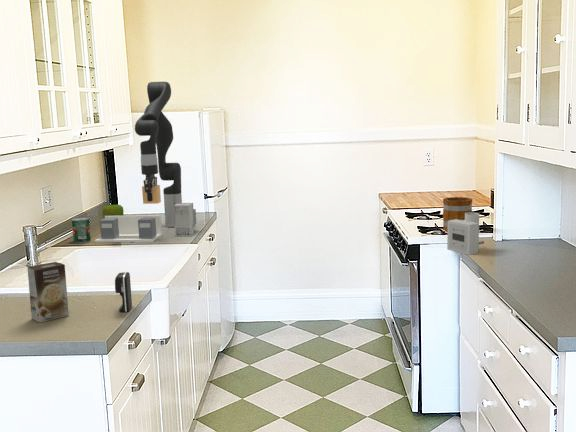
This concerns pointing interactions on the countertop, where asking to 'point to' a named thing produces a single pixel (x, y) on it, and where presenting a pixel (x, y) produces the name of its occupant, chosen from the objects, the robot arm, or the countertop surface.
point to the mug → (455, 209)
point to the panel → (133, 228)
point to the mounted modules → (112, 230)
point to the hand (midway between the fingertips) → (151, 200)
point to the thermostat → (464, 234)
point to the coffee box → (48, 291)
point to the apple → (112, 210)
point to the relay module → (155, 195)
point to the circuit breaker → (184, 219)
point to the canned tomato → (81, 230)
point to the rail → (126, 237)
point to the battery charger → (124, 290)
